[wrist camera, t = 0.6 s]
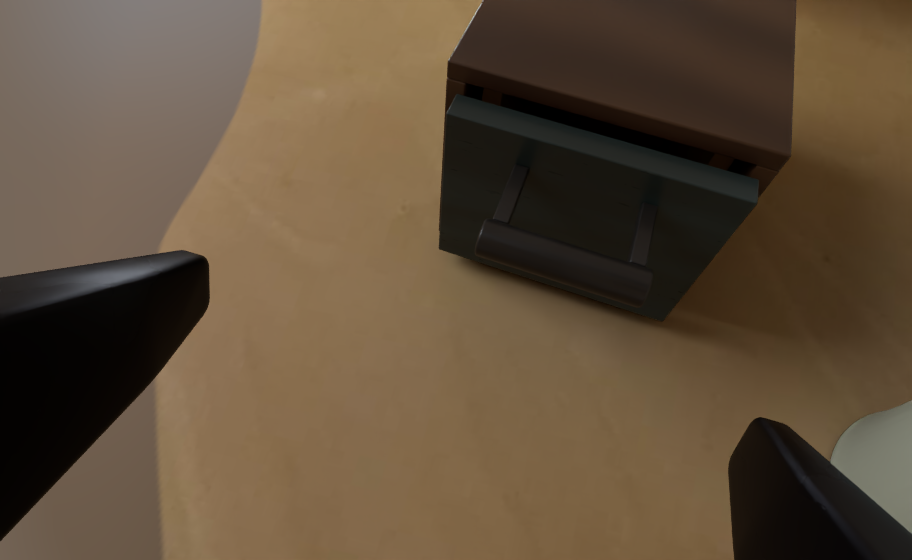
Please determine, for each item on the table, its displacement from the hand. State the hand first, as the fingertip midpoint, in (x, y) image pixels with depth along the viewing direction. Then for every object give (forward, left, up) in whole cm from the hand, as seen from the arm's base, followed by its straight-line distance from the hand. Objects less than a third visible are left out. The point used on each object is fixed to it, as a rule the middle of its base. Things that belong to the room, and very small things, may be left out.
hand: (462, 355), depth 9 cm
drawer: (+16, -4, -15) cm, 22 cm away
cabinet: (+20, -5, -16) cm, 26 cm away
